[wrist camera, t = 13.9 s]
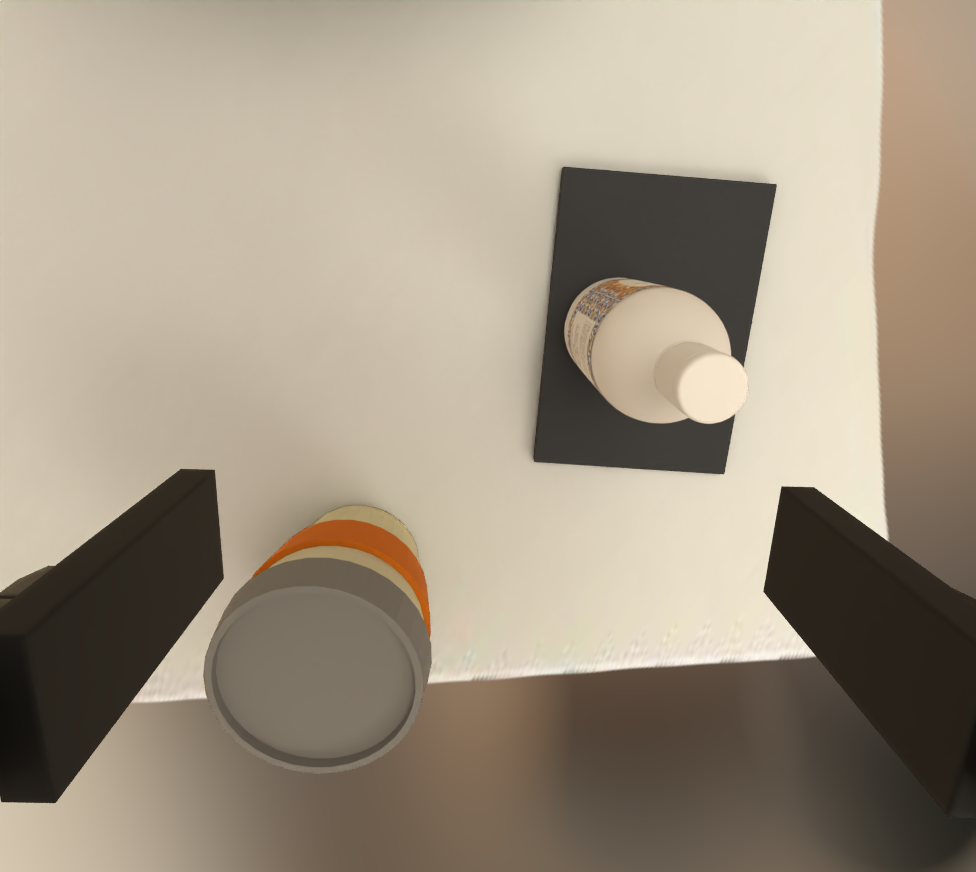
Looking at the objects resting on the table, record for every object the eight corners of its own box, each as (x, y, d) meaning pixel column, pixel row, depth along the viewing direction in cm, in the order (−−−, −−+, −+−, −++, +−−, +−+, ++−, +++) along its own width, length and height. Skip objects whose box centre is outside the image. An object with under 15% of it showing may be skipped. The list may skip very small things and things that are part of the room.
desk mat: (561, 168, 43) (563, 166, 43) (772, 185, 44) (777, 184, 43) (533, 458, 49) (534, 462, 48) (720, 470, 49) (724, 474, 49)
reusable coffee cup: (341, 449, 48) (284, 535, 34) (475, 548, 51) (474, 668, 36) (245, 570, 51) (153, 699, 36) (376, 659, 53) (339, 813, 39)
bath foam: (679, 295, 45) (831, 332, 26) (641, 391, 47) (757, 492, 27) (583, 262, 44) (666, 276, 25) (548, 361, 46) (601, 443, 27)
